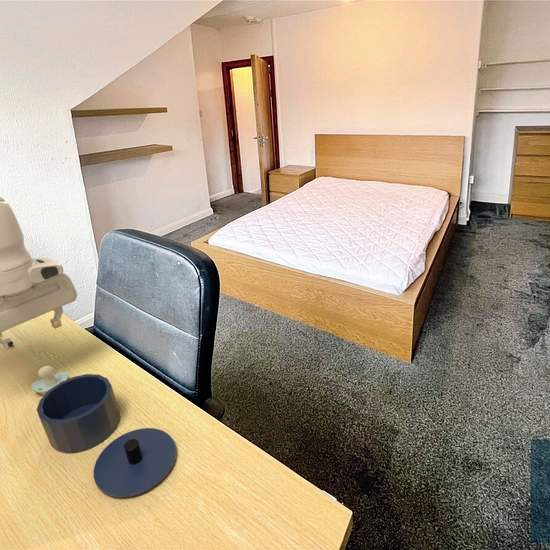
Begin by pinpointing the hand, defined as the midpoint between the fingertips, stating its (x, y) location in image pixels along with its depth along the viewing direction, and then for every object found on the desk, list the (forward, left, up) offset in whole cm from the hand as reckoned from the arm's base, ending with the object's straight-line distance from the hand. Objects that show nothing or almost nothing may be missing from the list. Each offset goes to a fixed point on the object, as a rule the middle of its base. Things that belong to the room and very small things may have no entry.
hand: (34, 337), depth 84 cm
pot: (+9, -15, -13) cm, 22 cm away
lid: (+19, -27, -13) cm, 35 cm away
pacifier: (0, 0, -13) cm, 13 cm away
